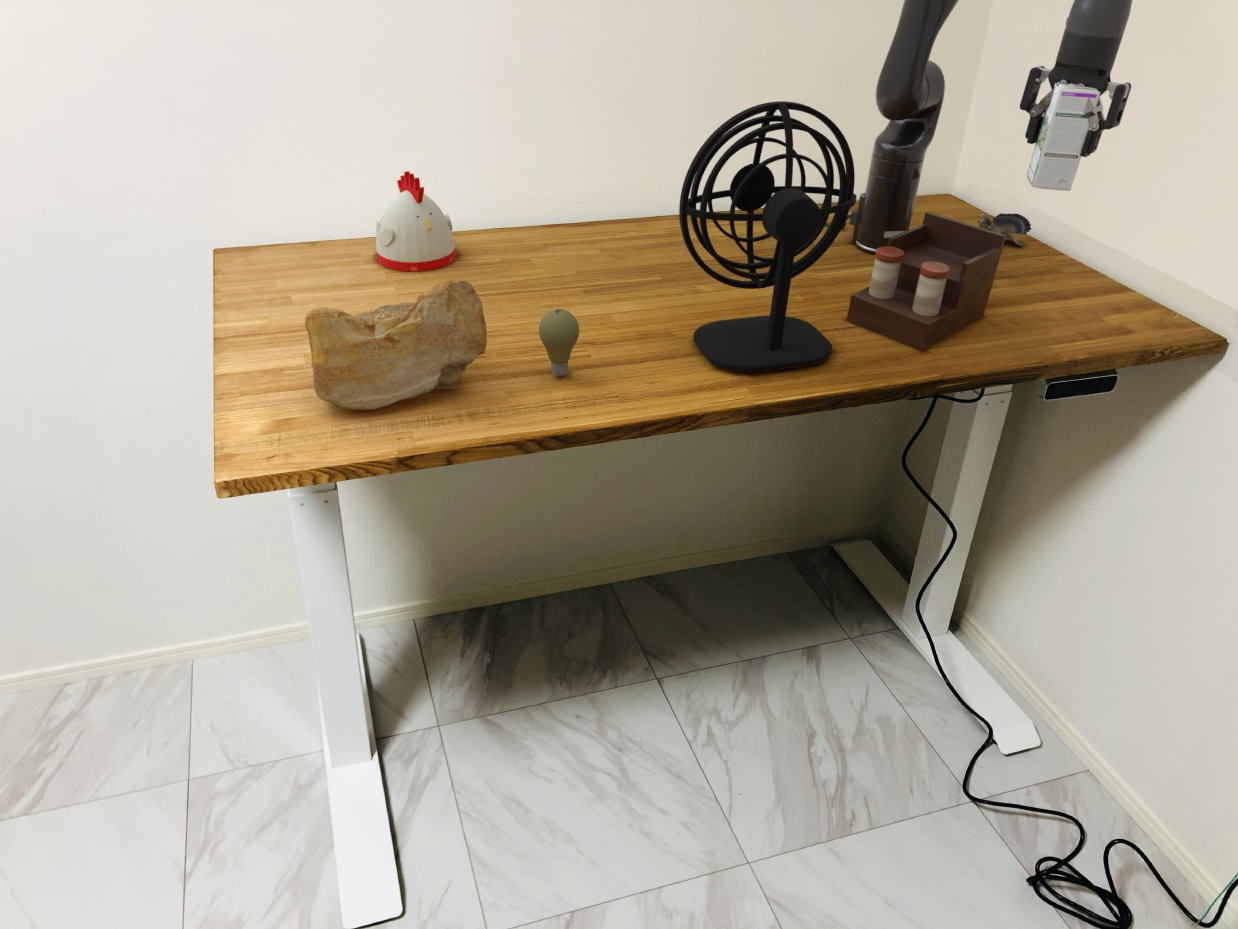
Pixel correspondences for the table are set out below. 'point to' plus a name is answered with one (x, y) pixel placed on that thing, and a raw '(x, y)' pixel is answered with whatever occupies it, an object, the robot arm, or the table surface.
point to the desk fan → (767, 236)
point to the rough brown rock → (396, 347)
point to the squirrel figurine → (1006, 225)
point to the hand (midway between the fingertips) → (1057, 149)
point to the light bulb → (559, 338)
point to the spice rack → (929, 281)
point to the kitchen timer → (414, 231)
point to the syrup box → (1061, 138)
